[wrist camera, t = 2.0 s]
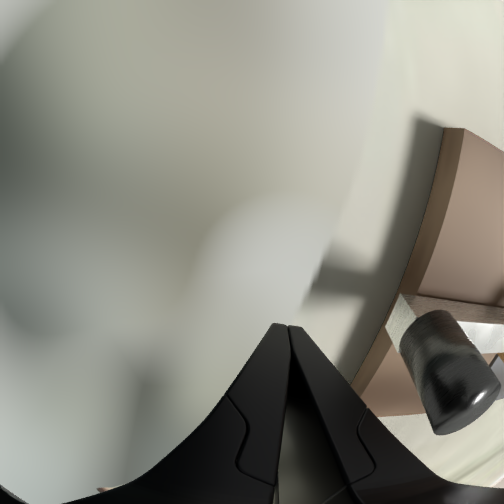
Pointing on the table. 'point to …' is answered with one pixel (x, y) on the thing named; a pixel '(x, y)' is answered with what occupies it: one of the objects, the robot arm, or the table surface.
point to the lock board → (446, 262)
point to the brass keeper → (501, 356)
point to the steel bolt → (448, 356)
